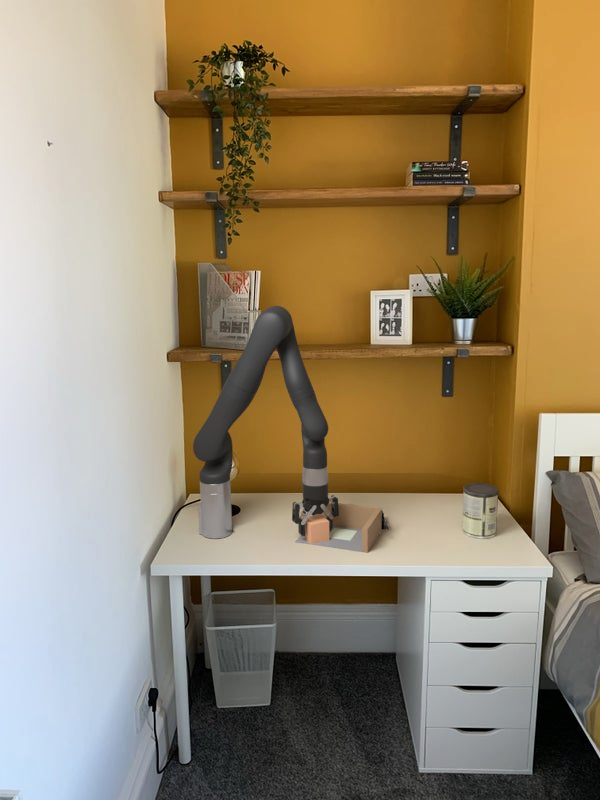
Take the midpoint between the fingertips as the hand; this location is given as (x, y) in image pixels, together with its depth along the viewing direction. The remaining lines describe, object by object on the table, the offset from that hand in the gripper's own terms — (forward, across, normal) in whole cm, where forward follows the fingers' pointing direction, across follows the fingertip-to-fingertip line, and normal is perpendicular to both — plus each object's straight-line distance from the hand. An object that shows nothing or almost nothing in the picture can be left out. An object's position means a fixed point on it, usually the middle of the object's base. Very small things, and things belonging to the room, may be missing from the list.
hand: (315, 532), depth 185 cm
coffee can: (+3, +48, -15) cm, 51 cm away
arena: (+3, +7, -1) cm, 8 cm away
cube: (+2, 0, 0) cm, 2 cm away
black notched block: (+4, +24, +4) cm, 24 cm away
